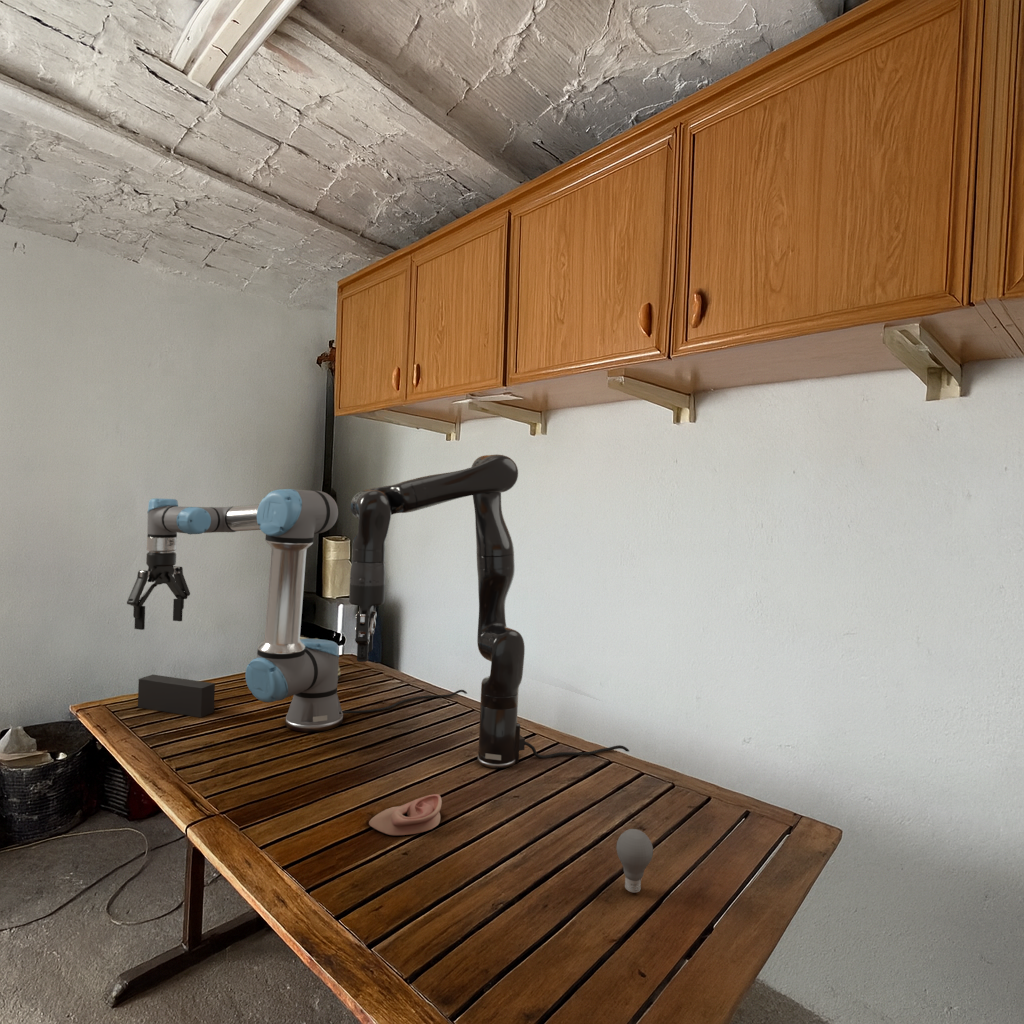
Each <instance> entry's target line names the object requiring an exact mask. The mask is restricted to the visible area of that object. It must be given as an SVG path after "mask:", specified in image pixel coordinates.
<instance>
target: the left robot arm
mask: <svg viewBox="0 0 1024 1024" xmlns="http://www.w3.org/2000/svg"><path fill="white" fill-rule="evenodd" d="M338 517H339V507H338V504H337V502H336V501H335V499H334V498H333V496H331V495H330V494H328V493H327V492H324V491H321V490H313V489H312V490H309V489H293V488H284V489H283V488H282V489H274V490H272V491H270V492H268V493H266V495H265V496H264V497H263V498H262V499H261V501H260V502H259V503H257V504H248V505H247V504H246V505H236V506H233V505H232V506H179V502H178V500H177V499H176V498H161V497H160V498H159V497H155V498H150V499H149V501H148V507H147V531H146V532H147V534H146V551H148V552H147V553H146V560H145V561H146V562H145V564H146V566H147V570H143V569H139V570H138V571H137V576H136V580H135V582H134V584H133V587H132V589H131V592H130V594H129V596H128V598H127V601H126V605H129V606H131V607H133V615H132V616H133V618H134V630H140V631H144V630H145V629H146V626H145V623H146V606H145V605H144V604H145V602H146V601H147V600H148V598H149V596H150V595H151V593H152V592H153V590H154V589H155V588H156V587H158V585H159V586H160V585H163V584H166V585H167V587H168V588H169V590H170V591H171V593H172V594H173V595H174V597H175V598H173V604H172V605H173V607H172V609H173V610H172V621H174V622H183V610H184V608H185V600H187V599H188V598H189V596H190V595H191V591H190V590H189V589H190V588H189V587H188V586H189V585H188V584H187V580H186V578H185V576H184V570H183V566H179V565H176V564H177V553H176V552H175V551H177V542H178V541H177V539H178V538H177V537H178V533H179V534H186V535H201V534H211V533H236V532H247V531H261V532H262V533H263V534H265V538H264V539H265V543H266V544H267V545H268V546H269V547H270V559H269V574H268V588H267V600H266V615H265V627H264V629H265V630H264V640H263V641H261V642H260V643H259V644H258V645H257V651H256V658H253V659H252V660H251V661H250V662H249V663H248V664H247V666H246V668H245V682H246V685H247V688H248V690H249V691H250V692H251V695H252V696H254V697H255V698H256V699H257V700H258V701H261V702H263V703H269V704H270V703H274V702H279V701H283V700H285V699H287V698H290V697H292V699H291V702H290V704H289V708H288V711H287V713H286V715H285V726H286V728H287V729H289V730H291V731H294V732H295V731H296V732H301V733H316V732H325V731H329V730H332V729H335V728H337V727H339V726H340V725H342V723H343V722H344V715H345V714H365V713H375V712H381V711H386V710H389V709H392V708H395V707H397V706H398V705H401V704H404V703H407V702H411V701H415V700H422V699H429V698H448V697H453V696H455V695H458V694H459V693H464V694H465V695H466V694H468V692H467V691H466V690H465V689H458V690H456V691H454V692H452V693H447V694H432V695H431V694H430V695H429V694H428V695H421V696H420V695H419V696H415V697H410V698H406V699H402V700H399V701H397V702H395V703H393V704H391V705H389V706H385V707H380V708H373V709H362V710H343V709H342V706H341V702H340V699H339V695H338V682H339V679H338V665H339V662H340V661H339V660H340V654H339V653H340V652H339V648H340V647H339V645H338V643H337V642H335V641H333V640H328V639H320V638H318V639H315V638H308V639H300V637H301V629H302V627H301V626H302V614H303V602H304V601H303V600H304V586H305V573H306V560H307V550H308V548H310V547H311V546H312V545H313V544H314V538H315V537H314V536H315V535H318V534H322V533H325V532H327V531H329V530H330V529H332V528H333V526H335V524H336V523H337V521H338Z"/></svg>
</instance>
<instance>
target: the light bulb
mask: <svg viewBox="0 0 1024 1024" xmlns="http://www.w3.org/2000/svg"><path fill="white" fill-rule="evenodd" d="M615 849H616V854H617V857H618V859H619V861H620V863H621V865H622V867H623V873H624V874H623V875H624V876H625V878H624V888H625V890H627V891H628V892H630V893H634V894H635V893H639V892H640V891H641V889H642V887H641V886H642V879H643V877H644V875H645V871H646V868H647V867H648V866H649V864H650V863H651V861H652V859H653V855H654V847H653V843H652V841H651V838H649V836H648V835H647V834H646V833H645V832H643V831H642V830H641V829H636V828H629V829H627V830H625V831H623V832H622V833H621V834H620V835H619V837H618V839H617V841H616V847H615Z"/></svg>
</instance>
